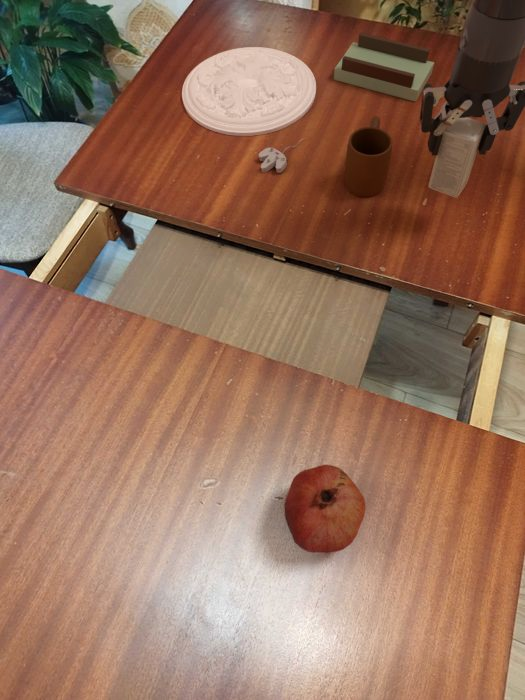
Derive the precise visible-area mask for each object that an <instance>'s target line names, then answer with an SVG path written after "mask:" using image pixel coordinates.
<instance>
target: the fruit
mask: <svg viewBox="0 0 525 700" xmlns="http://www.w3.org/2000/svg"><path fill="white" fill-rule="evenodd" d="M283 506H284V507H283V510H284V511H283V512H284V519H285V520H286V524H287V527H288V529H289V532H290V534H291V537H292V540H293V542H294V543H295V544H296V546H298V547H299V548H300V549H301V550H304V551H306V552H308V553H324V554H328V553H335V552H340V551H342V550H345V549H346V548H348V547H349V546H350V545H351V544H352V543H353V542H354V540H355V539H356V537H357V536H358V533H359V530H360V526H361V524H362V522H363V521H364V517H365V514H366V513H365V512H366V500H365V497H364V495H363V493H362V492H361V491H360V489H359V487H358V486H357V485H356V484H355V482H354V481H353V480H352V479H351V477H350V476H349V475H348V474H347V473H346V472H345V471H344V470H343V469H342V468H340V467H338V466H335V465H331V464H321V465H318V466H315V467H312V468H308V469H303V470H302V471H300V472H298V473H297V474H296V475H295V476H294V477H293V479H292V481H291V483H290V486H289V489H288V492H287V494H286V495H285V499H284V505H283Z"/></svg>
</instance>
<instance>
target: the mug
mask: <svg viewBox="0 0 525 700" xmlns="http://www.w3.org/2000/svg"><path fill="white" fill-rule="evenodd" d="M380 126H381V118H380V117H379V116H377V115H374V116H372V117H371V118H370V121H369V126H364V127H360V128H358V129H356V130H354V131H353V132H352V133H351V134H350V136H349V138H348V142H347V147H346V152H345V153H346V155H345V162H344V171H343V172H344V174H343V183H344V187H345V188H346V189H347V191H348V192H349V193H351V194H352V195H355V196H357V197H363V198H368V197H373V196H376V195H378V194H379V193H381V191H383V189H384V188H385V185H386V182H387V178H388V173H389V169H390V163H391V158H392V153H393V145H394V143H393V138H392V136H391V134H390V133H389V132H387V131H386V130H385V129H382V128H380Z"/></svg>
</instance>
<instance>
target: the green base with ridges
mask: <svg viewBox="0 0 525 700" xmlns="http://www.w3.org/2000/svg"><path fill="white" fill-rule="evenodd" d="M430 51H431V49H430V48H426V47H422V46H418V45H415V44H410V43H405V42H402V41H398V40H393V39H390V38H385V37H381V36H377V35H374V34H373V35H372V34H369V33H364V32H360V33H359V35H358V42H354V41H353V42H352V43H351V44H350V46H349V47H348V48H347V50H346V52H345V53H344V54H343V56H342V57H341V59H340V60H339V62H338V63H337V64H336V66H335V67H334V72H333V81H337V82H341V83H345V84H348V85H351V86H356V87H360V88H363V89H367V90H371V91H373V92H378V93H382V94H385V95H389V96H392V97H396V98H400V99H404V100H407V101H411V102H415V103H416V102H417V100H418V99H419V97H420V95H421V93H422V92H423V87H424V86H425V85H427V84H428V81H429V79H430V77H431V76H432V75H433V71H434V66H435V62H434V61H430V60H429V55H430Z"/></svg>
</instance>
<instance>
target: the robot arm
mask: <svg viewBox="0 0 525 700" xmlns="http://www.w3.org/2000/svg"><path fill="white" fill-rule="evenodd" d="M524 47H525V0H472V1H471V3H470V7H469V9H468V11H467V13H466V17H465V20H464V23H463V27H462V30H461V34H460V39H459V42H458V47H457V50H456V53H455V57H454V61H453V64H452V68H451V73H450V76H449V80H447V82H445V84H444V85H443V86H437V87H433V85H432V84H431V83H426V85H425V86H424V87H423V90H422V91H421V93H422V94H421V103H420V112H419V113H420V114H419V122H420V126H421V127H420V129H421V133H423V134H426V133H429V136H428V140H427V149H428V152H429V153H431V156H435V157H436V156H437V154H438V151H439V147H440V144H441V140H442V137H443V136H442V133H443V132H444V131H445V130H446V128H447V127H448V126H451V125H453V124H454V122H455V121H456V120H457V119H458V118H466V117H468V118H471V117H472V118H476V119H477V118H483V116H484V117H485V120H486V126H485V129H484V133H483V136H482V139H481V142H480V145H479V148H478V151H477V152H478V154H479V155H486V154H487V153H486V152H488V151H490V150H491V149H492V147H493V143H494V142H495V139H496V137H497V134H498V133H499V132H502V131H506V132H509V131H512V130H513V129H514V127H515V125H516V124H517V122H518V120H519V118H520V116H521V114H522V112H523V111H524V109H525V81H524V80H523V81H520V82H518V83H517V84H510V83H511V81H512V79H513V76H514V74H515V71H516V67H517V65H518V62H519V60H520V57H521V55H522V52H523V50H524ZM507 97H508V99H509V101H508V102H507V105H506V107H505V108H504V110H503V112H502V114H501V116H498V117H497V116H496V112H495V109H494V108H496V107H497V106H498V105H499V104H501V103H502V102H503V101H504V100H505V99H506V98H507ZM442 98H444V99H445V102H444V103H443V104H442V105H441V107H440V110H439V111H438V112H437V114H436V115H435V116H434V118H433V112H434V107H436V106H437V105H438V104H439V102H440V100H441V99H442Z"/></svg>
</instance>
